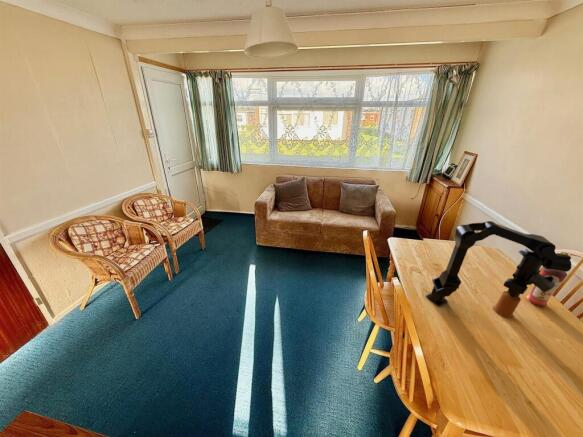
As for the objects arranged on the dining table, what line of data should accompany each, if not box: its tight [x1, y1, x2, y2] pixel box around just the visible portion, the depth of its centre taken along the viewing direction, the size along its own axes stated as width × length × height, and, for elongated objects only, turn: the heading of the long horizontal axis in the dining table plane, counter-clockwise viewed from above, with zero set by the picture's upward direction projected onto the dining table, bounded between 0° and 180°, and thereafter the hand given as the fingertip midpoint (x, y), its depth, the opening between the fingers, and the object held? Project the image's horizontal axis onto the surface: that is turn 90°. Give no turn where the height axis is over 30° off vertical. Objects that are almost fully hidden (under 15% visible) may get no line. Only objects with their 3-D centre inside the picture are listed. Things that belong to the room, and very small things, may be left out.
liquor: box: [526, 251, 571, 307], centre depth 102 cm, size 7×7×28 cm
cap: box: [506, 288, 521, 297], centre depth 98 cm, size 4×4×2 cm
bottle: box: [493, 290, 522, 318], centre depth 101 cm, size 6×6×13 cm
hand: (513, 294), depth 99 cm, fingers closed on cap, 4 cm apart
